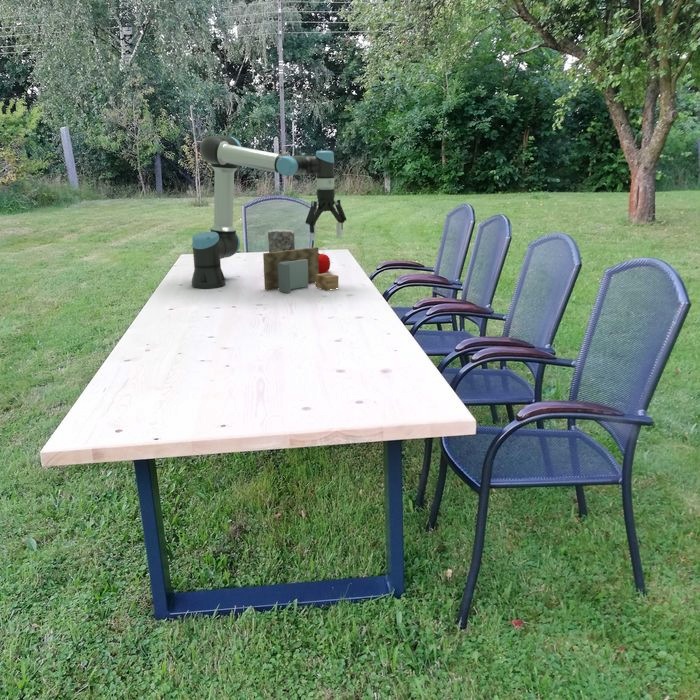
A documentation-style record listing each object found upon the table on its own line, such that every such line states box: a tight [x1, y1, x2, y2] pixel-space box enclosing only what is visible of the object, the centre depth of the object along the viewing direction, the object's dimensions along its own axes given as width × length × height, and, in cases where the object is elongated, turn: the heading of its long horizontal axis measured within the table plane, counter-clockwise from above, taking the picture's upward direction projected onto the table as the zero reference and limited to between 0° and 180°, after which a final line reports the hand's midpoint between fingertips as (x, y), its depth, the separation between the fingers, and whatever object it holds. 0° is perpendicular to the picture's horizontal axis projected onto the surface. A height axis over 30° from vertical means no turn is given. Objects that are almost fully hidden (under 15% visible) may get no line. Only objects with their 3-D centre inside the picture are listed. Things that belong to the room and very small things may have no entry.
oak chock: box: [315, 272, 339, 291], centre depth 280 cm, size 9×6×6 cm, turn 38°
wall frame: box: [262, 246, 320, 291], centre depth 283 cm, size 28×2×16 cm, turn 128°
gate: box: [278, 259, 309, 294], centre depth 275 cm, size 15×6×12 cm, turn 128°
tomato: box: [319, 252, 331, 274], centre depth 313 cm, size 11×13×10 cm
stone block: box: [267, 229, 296, 263], centre depth 322 cm, size 13×7×20 cm, turn 96°
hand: (326, 239), depth 274 cm, fingers open, 13 cm apart
